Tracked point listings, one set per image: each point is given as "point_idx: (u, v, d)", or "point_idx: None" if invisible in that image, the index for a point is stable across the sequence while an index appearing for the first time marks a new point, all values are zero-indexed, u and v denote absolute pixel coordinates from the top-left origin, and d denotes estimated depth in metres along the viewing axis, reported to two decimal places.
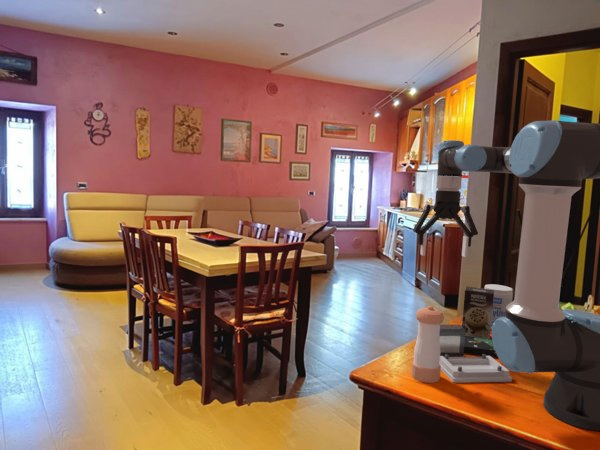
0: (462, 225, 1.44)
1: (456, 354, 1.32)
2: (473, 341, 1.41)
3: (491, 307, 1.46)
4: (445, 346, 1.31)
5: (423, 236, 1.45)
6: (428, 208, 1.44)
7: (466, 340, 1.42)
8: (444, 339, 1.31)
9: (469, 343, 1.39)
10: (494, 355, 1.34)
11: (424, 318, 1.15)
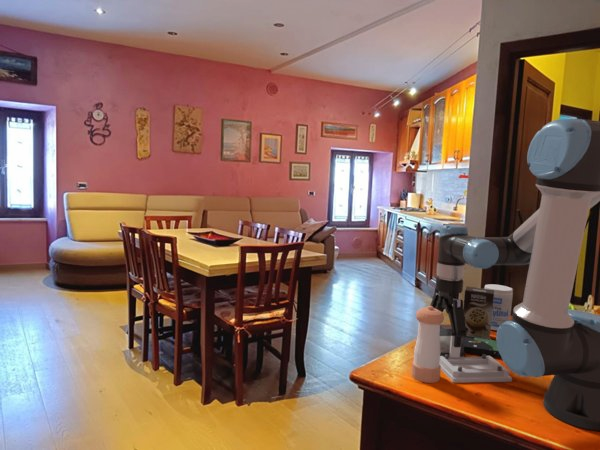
0: (450, 320, 1.28)
1: None
2: (473, 341, 1.41)
3: (491, 307, 1.46)
4: (445, 346, 1.31)
5: None
6: (435, 291, 1.38)
7: (466, 340, 1.42)
8: (444, 339, 1.31)
9: (469, 343, 1.39)
10: (493, 355, 1.34)
11: (424, 318, 1.15)
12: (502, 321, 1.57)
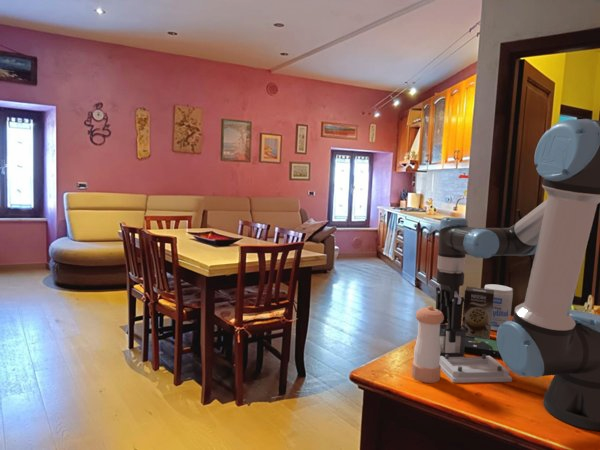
0: (447, 314, 1.30)
1: (457, 354, 1.32)
2: (473, 341, 1.41)
3: (491, 307, 1.46)
4: None
5: None
6: (436, 291, 1.37)
7: (466, 340, 1.42)
8: (444, 339, 1.31)
9: (469, 343, 1.39)
10: (493, 355, 1.34)
11: (424, 318, 1.15)
12: (502, 321, 1.57)
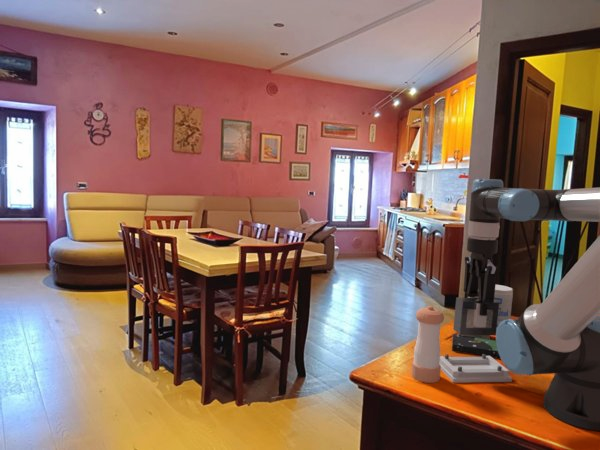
0: (479, 285, 1.18)
1: (488, 330, 1.21)
2: (473, 341, 1.41)
3: None
4: None
5: None
6: (465, 261, 1.26)
7: (466, 340, 1.42)
8: (475, 313, 1.20)
9: (468, 343, 1.40)
10: (493, 355, 1.34)
11: (424, 318, 1.15)
12: None
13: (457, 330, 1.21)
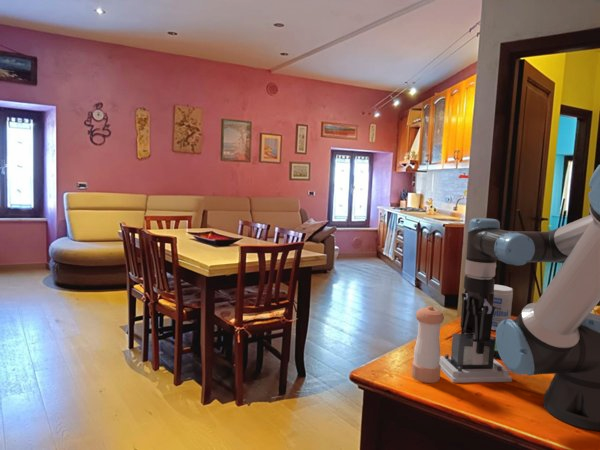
0: (475, 323, 1.20)
1: (485, 366, 1.22)
2: None
3: None
4: None
5: None
6: (462, 297, 1.27)
7: None
8: None
9: None
10: None
11: (424, 318, 1.15)
12: None
13: (454, 366, 1.23)
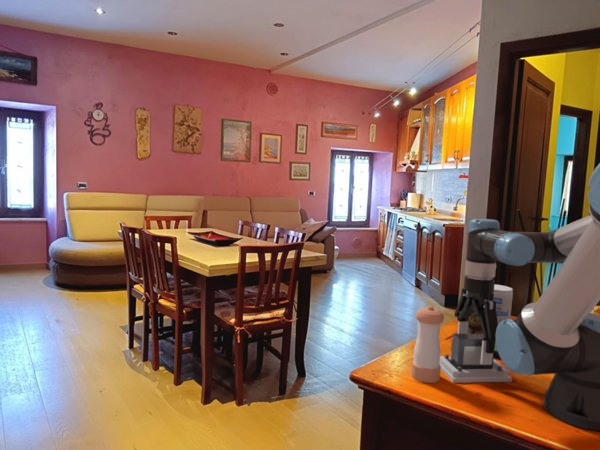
0: (481, 323, 1.17)
1: (485, 366, 1.22)
2: None
3: None
4: (473, 357, 1.21)
5: None
6: (462, 292, 1.27)
7: None
8: (472, 350, 1.21)
9: None
10: None
11: (424, 318, 1.15)
12: None
13: (454, 366, 1.23)
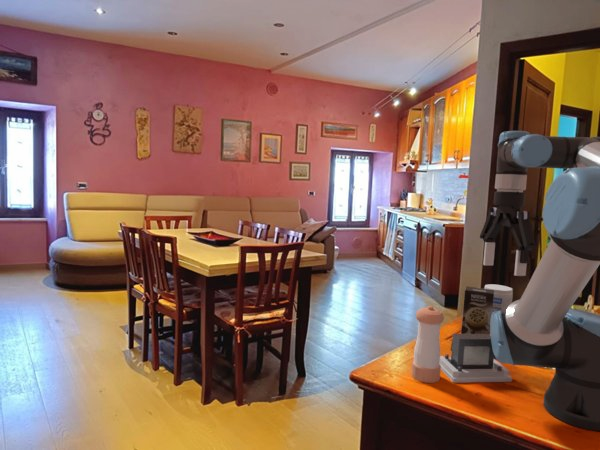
0: (514, 234, 1.16)
1: (485, 366, 1.22)
2: None
3: (491, 307, 1.46)
4: (473, 357, 1.21)
5: None
6: (489, 211, 1.26)
7: None
8: (472, 350, 1.21)
9: None
10: None
11: (424, 318, 1.15)
12: None
13: (454, 366, 1.23)
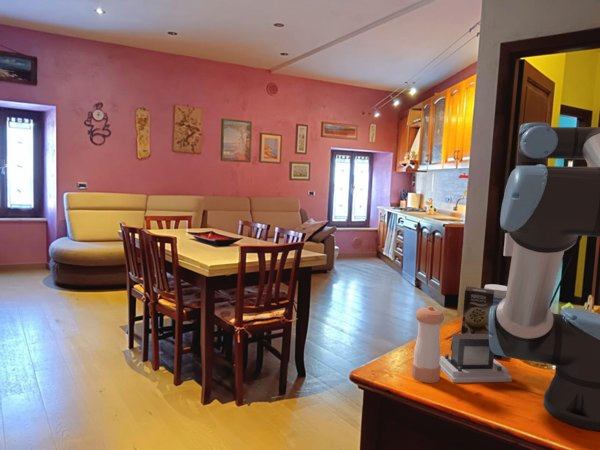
0: None
1: (485, 366, 1.22)
2: None
3: None
4: (473, 357, 1.21)
5: None
6: None
7: None
8: (472, 350, 1.21)
9: None
10: None
11: (424, 318, 1.15)
12: None
13: (454, 366, 1.23)
